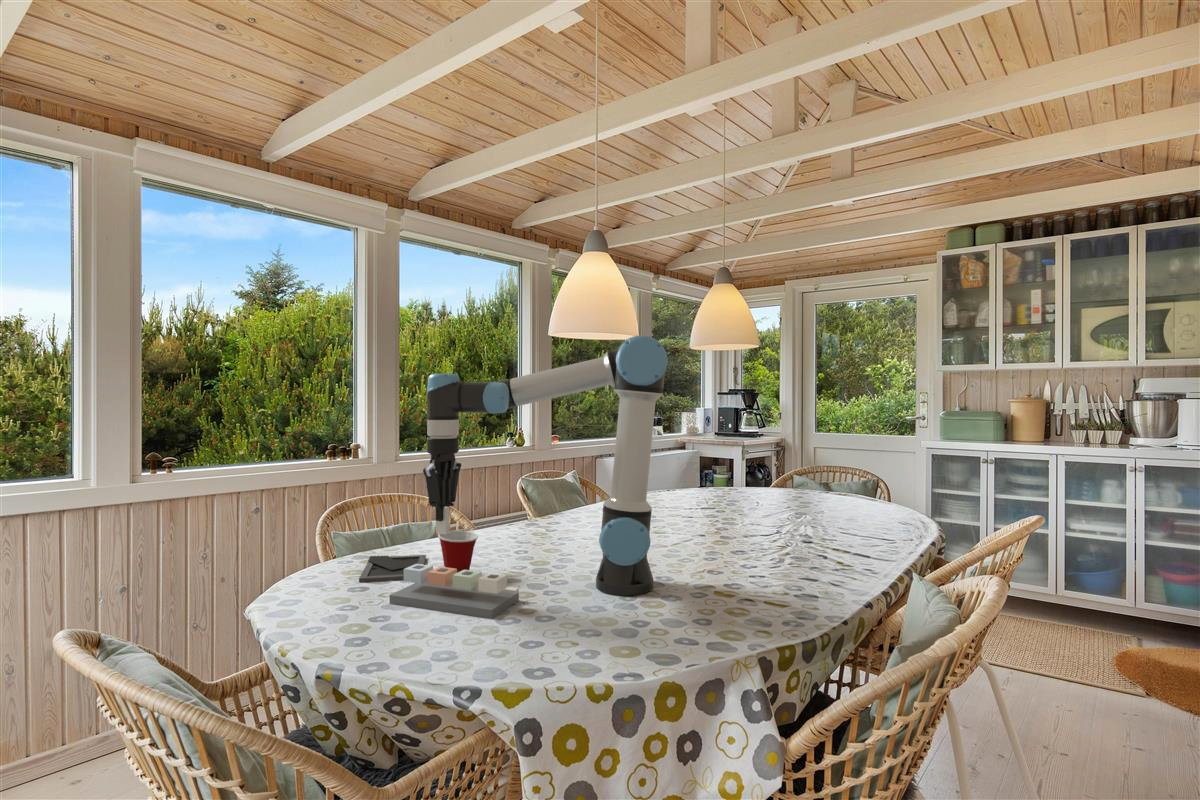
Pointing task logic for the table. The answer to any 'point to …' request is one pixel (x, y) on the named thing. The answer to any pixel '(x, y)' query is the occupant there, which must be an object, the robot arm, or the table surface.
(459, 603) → the keypad base
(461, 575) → the key sage
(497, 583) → the key ivory
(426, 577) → the key blue
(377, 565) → the picture frame
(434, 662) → the table surface
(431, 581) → the key terracotta
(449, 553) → the plastic cup
